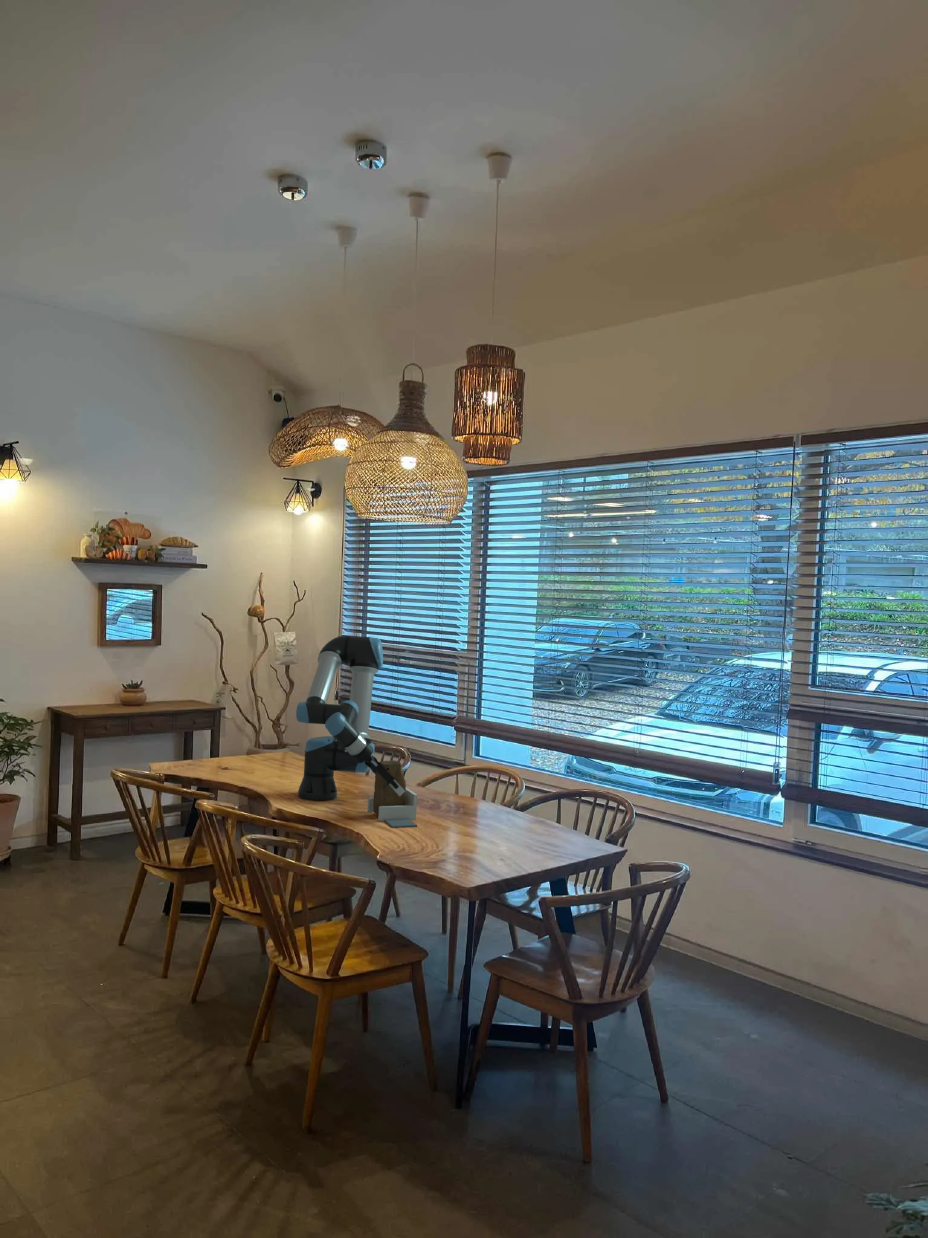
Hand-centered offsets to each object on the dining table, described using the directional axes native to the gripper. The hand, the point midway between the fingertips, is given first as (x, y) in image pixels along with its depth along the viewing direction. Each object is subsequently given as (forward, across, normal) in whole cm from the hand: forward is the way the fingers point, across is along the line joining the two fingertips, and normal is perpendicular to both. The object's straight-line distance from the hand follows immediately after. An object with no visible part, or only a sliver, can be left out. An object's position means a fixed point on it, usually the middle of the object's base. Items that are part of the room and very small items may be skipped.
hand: (396, 789), depth 325 cm
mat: (+5, +12, -8) cm, 15 cm away
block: (+5, 0, -9) cm, 10 cm away
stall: (+5, 0, -8) cm, 10 cm away
